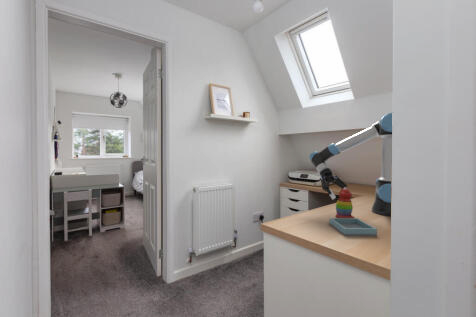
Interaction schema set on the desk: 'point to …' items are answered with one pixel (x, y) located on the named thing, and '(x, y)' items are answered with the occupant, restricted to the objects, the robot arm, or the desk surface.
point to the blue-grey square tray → (352, 227)
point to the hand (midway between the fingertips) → (342, 197)
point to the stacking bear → (344, 204)
